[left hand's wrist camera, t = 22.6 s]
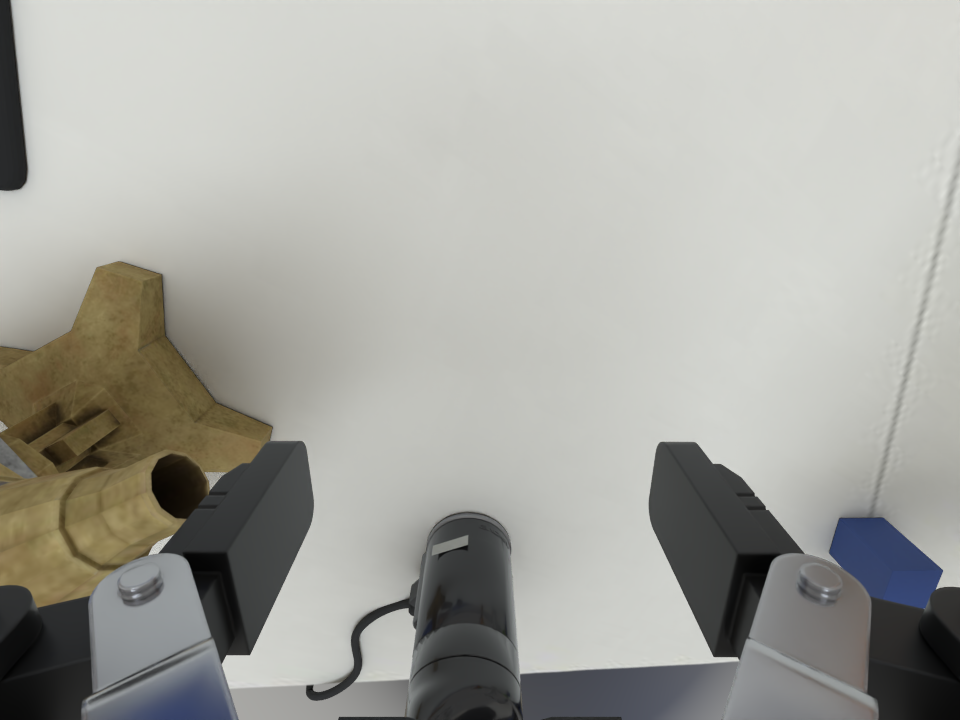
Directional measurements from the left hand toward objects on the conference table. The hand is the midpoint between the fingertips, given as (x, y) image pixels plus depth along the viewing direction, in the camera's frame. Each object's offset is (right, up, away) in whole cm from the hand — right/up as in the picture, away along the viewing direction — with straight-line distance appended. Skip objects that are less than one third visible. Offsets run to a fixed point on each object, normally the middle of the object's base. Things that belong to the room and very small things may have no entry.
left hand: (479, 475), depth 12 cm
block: (+42, -17, +45) cm, 64 cm away
